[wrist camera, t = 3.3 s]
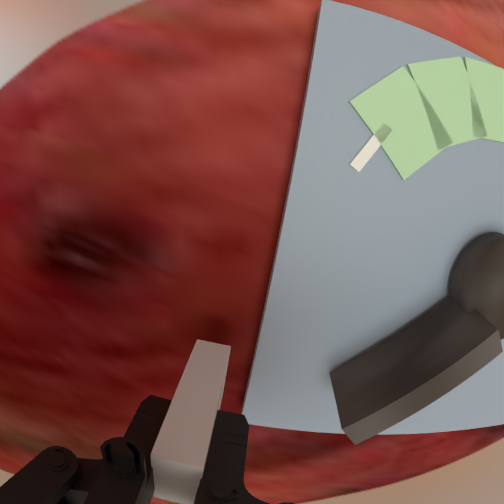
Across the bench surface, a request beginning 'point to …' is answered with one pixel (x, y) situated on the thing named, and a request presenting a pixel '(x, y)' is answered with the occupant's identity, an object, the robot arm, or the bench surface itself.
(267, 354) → the tuner board
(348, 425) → the dark long piece
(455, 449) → the bench surface
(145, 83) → the bench surface
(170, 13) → the bench surface
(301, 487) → the bench surface
